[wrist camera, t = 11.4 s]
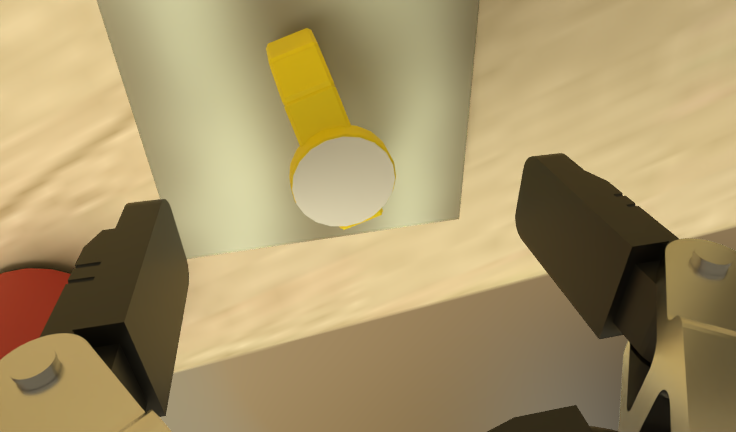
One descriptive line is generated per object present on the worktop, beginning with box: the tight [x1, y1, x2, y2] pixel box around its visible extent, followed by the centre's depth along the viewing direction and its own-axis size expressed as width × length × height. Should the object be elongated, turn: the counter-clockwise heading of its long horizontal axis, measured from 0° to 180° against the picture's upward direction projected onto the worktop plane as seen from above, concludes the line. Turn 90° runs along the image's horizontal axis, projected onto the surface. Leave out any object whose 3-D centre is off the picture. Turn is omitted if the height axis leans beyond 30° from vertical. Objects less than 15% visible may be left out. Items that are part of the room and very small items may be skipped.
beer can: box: [0, 268, 70, 360], centre depth 19 cm, size 7×7×12 cm
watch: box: [266, 28, 396, 230], centre depth 15 cm, size 6×3×6 cm, turn 18°
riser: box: [97, 0, 479, 259], centre depth 19 cm, size 12×12×4 cm
